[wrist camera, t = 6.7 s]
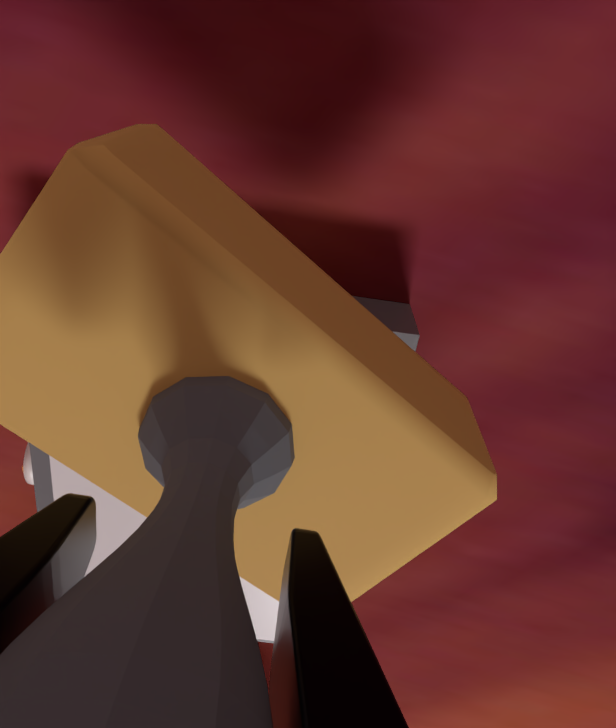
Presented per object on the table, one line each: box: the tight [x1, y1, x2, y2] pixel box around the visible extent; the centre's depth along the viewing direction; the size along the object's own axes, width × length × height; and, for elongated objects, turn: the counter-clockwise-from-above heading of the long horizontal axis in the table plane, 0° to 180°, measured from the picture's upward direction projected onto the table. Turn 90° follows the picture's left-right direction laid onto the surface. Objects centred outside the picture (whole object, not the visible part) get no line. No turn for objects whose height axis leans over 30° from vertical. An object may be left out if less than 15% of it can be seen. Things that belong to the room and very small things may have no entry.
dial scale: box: [22, 296, 419, 643], centre depth 23 cm, size 14×16×3 cm
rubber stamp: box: [0, 124, 497, 728], centre depth 9 cm, size 10×6×12 cm, turn 48°
